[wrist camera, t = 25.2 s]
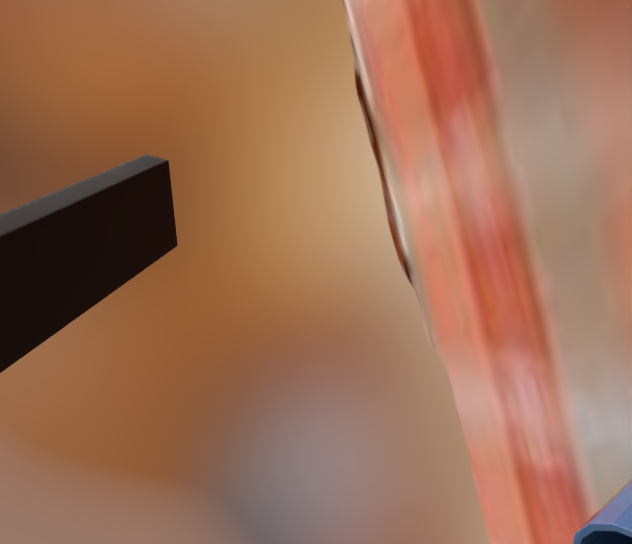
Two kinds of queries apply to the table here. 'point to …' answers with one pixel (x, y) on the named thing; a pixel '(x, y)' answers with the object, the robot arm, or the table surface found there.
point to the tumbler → (610, 521)
